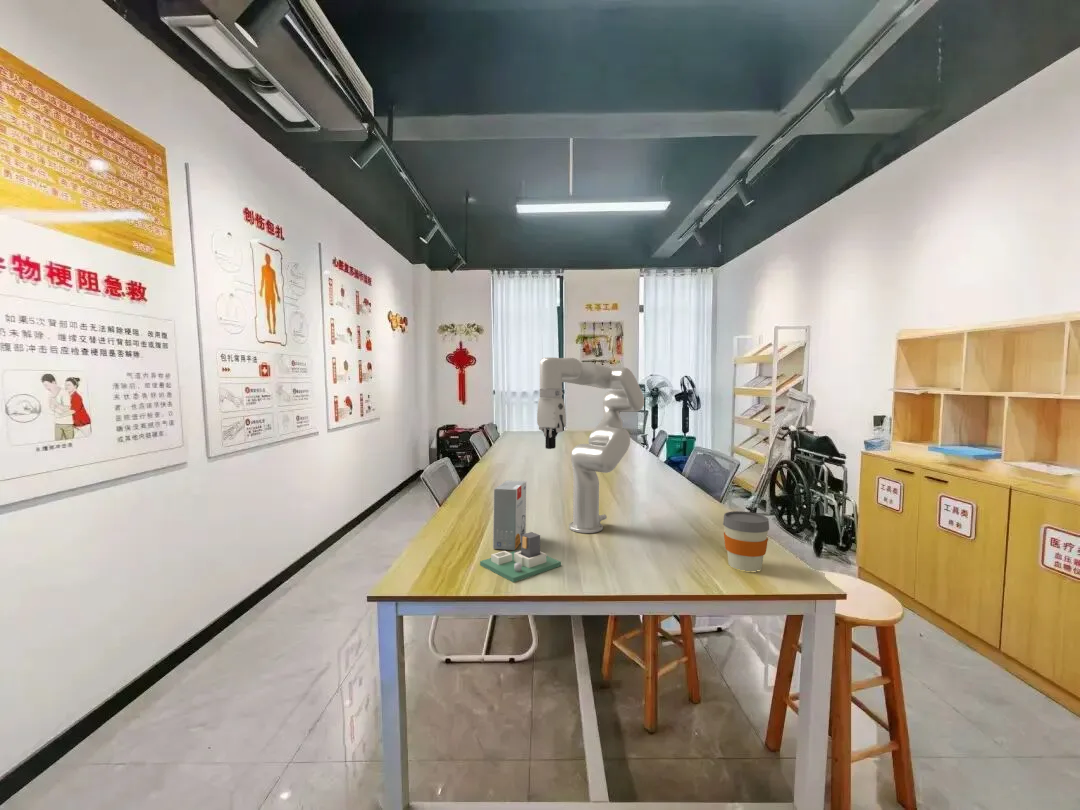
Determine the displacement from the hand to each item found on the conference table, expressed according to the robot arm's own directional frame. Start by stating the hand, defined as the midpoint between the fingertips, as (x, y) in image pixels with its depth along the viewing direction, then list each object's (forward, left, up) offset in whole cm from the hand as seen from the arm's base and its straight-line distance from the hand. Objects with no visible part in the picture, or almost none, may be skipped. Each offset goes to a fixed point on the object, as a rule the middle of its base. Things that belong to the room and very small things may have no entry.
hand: (550, 448), depth 160 cm
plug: (+19, +12, -31) cm, 38 cm away
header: (+19, +12, -31) cm, 38 cm away
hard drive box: (+11, -8, -32) cm, 35 cm away
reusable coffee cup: (-29, +54, -32) cm, 69 cm away
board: (+21, +10, -32) cm, 40 cm away
